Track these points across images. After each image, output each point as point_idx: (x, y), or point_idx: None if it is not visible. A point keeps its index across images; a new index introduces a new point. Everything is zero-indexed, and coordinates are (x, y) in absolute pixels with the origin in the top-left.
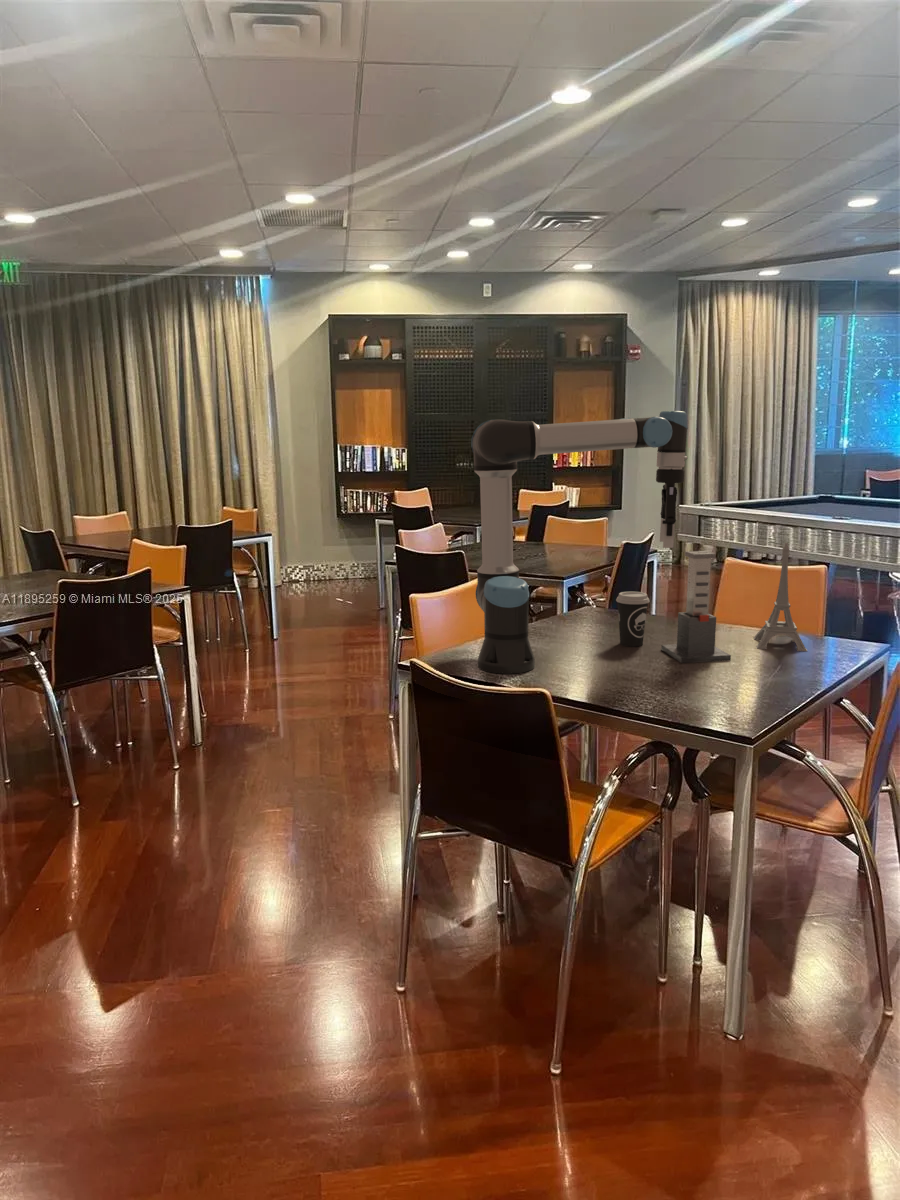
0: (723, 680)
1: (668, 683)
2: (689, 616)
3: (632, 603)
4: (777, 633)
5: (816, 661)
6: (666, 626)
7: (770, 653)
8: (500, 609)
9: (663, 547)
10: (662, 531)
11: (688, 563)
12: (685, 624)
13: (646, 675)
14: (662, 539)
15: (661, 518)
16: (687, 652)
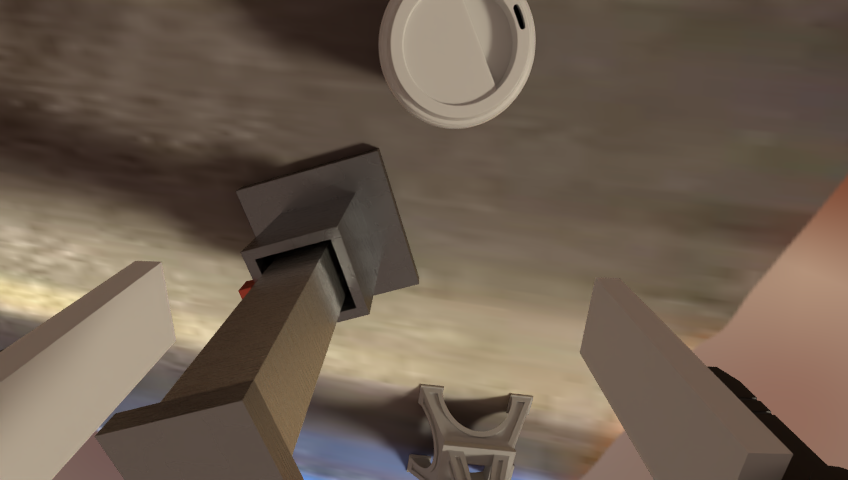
0: (106, 265)
1: (25, 127)
2: (296, 257)
3: (380, 39)
4: (436, 450)
5: (323, 467)
6: (682, 198)
7: (379, 401)
8: None
9: (132, 264)
10: (637, 352)
11: (258, 368)
12: (281, 233)
13: (82, 73)
14: (597, 308)
15: (824, 467)
16: (282, 213)
